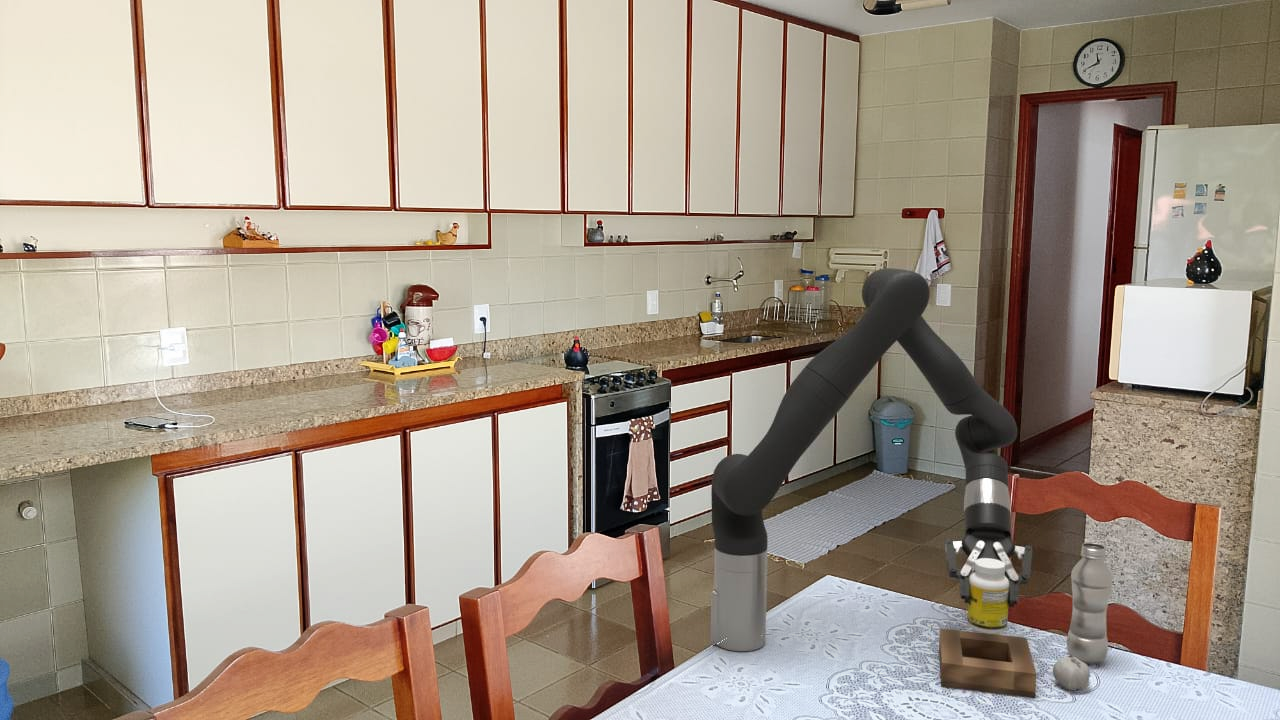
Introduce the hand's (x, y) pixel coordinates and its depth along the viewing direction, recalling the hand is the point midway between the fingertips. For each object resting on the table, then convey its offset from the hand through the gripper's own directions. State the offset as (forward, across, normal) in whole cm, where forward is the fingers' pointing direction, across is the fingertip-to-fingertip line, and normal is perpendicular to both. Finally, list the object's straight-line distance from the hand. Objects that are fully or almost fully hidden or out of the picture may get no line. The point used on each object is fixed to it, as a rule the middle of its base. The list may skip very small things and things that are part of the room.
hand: (989, 603), depth 154 cm
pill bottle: (+2, 0, +5) cm, 5 cm away
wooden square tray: (+8, 0, +10) cm, 13 cm away
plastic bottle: (+1, +17, +17) cm, 24 cm away
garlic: (+9, +13, +10) cm, 18 cm away
